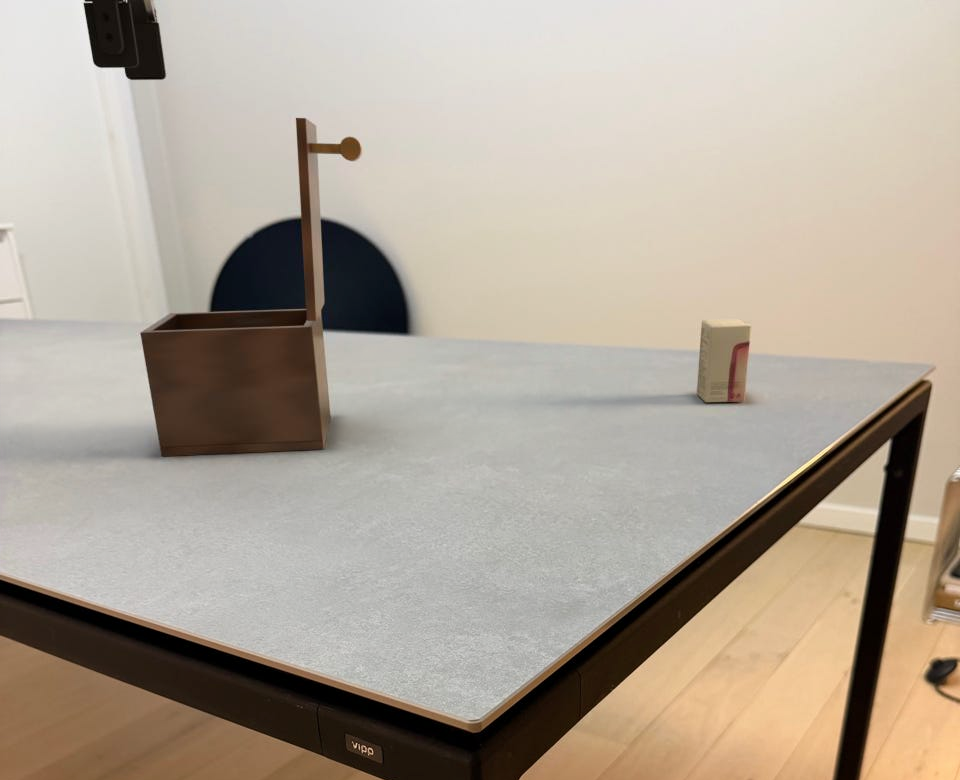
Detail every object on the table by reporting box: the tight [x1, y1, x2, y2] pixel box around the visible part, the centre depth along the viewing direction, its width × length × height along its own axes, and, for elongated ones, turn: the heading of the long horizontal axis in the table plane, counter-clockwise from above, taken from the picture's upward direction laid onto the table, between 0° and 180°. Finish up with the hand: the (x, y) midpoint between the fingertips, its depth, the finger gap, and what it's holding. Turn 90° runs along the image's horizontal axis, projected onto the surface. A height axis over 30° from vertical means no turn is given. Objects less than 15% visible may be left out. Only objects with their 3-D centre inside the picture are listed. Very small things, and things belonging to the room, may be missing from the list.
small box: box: [696, 318, 752, 403], centre depth 101 cm, size 5×4×8 cm
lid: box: [295, 117, 363, 321], centre depth 84 cm, size 15×13×5 cm
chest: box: [139, 308, 332, 457], centre depth 90 cm, size 15×13×11 cm
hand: (132, 73), depth 75 cm, fingers open, 9 cm apart
